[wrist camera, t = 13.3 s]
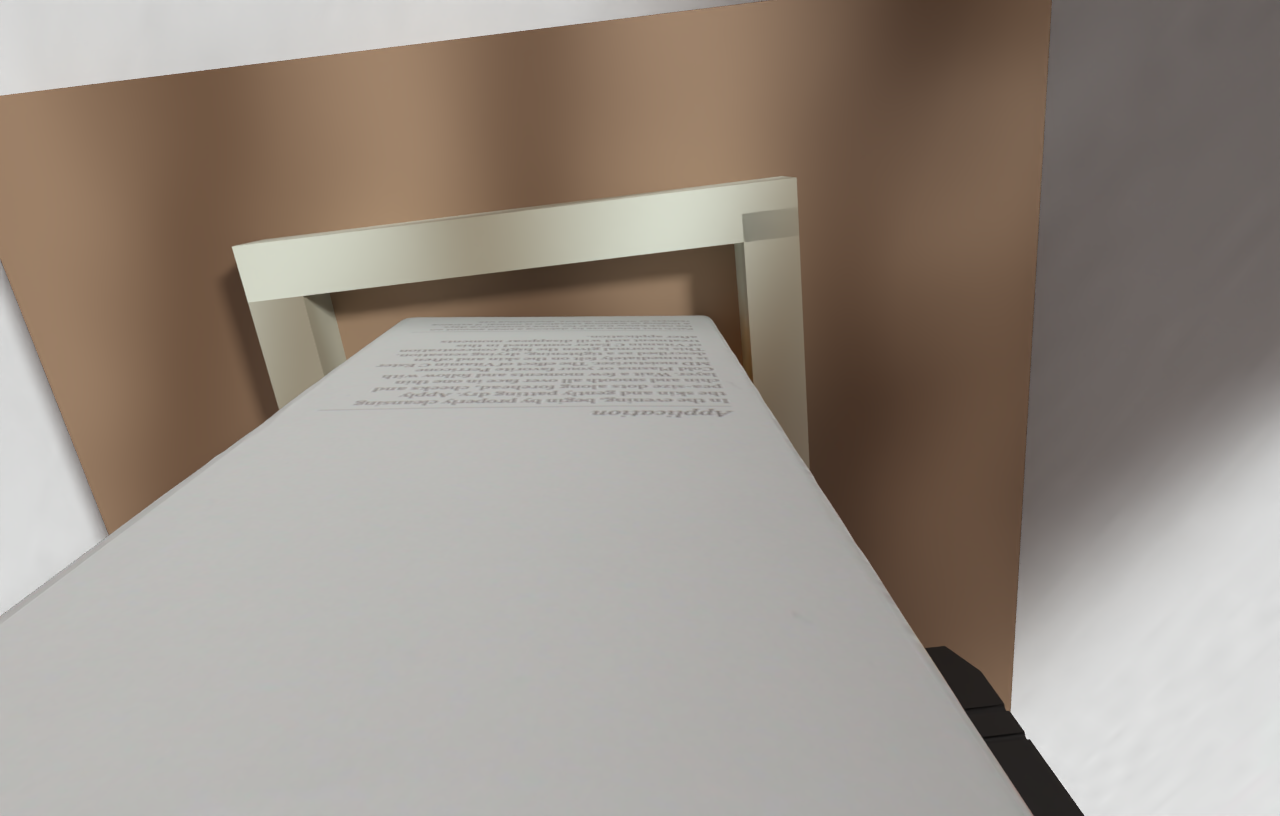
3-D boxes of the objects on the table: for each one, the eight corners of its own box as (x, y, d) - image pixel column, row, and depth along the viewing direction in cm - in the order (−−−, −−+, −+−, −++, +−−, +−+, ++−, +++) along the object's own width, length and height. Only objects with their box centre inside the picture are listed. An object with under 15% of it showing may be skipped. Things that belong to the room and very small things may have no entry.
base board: (998, -10, 15) (1095, -54, 12) (971, 708, 21) (1032, 802, 18) (24, 110, 15) (-126, 97, 12) (269, 789, 21) (209, 897, 18)
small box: (707, 645, 17) (933, 1844, 5) (436, 650, 17) (-24, 1910, 5) (718, 304, 15) (1247, 1049, 2) (399, 307, 15) (-808, 1128, 2)
